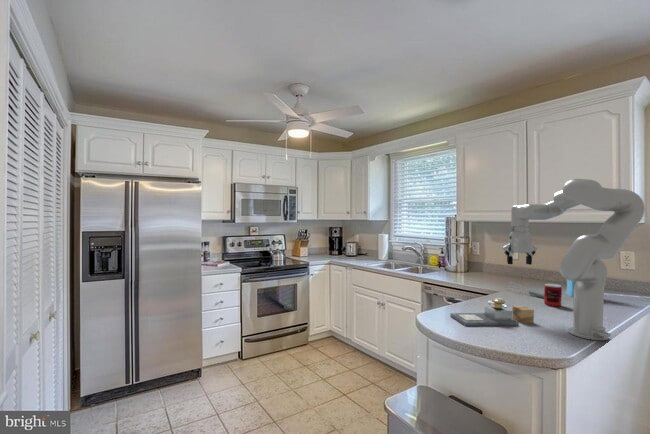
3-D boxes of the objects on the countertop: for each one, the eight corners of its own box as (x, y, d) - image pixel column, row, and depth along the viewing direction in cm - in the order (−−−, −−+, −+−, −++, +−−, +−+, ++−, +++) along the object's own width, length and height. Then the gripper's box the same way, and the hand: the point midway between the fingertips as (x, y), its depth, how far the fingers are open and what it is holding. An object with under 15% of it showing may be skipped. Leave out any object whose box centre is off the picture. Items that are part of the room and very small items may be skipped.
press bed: (518, 325, 144) (518, 313, 144) (465, 326, 142) (465, 313, 142) (498, 316, 158) (499, 304, 158) (450, 316, 156) (450, 304, 156)
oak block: (533, 322, 149) (533, 309, 149) (520, 323, 148) (521, 309, 148) (524, 318, 155) (524, 306, 155) (512, 318, 154) (512, 306, 154)
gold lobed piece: (507, 311, 148) (507, 301, 148) (496, 311, 148) (496, 301, 148) (500, 308, 153) (500, 298, 153) (489, 308, 153) (489, 298, 153)
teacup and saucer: (485, 304, 181) (485, 296, 181) (496, 303, 184) (496, 295, 184) (499, 308, 173) (499, 300, 173) (510, 307, 176) (510, 299, 176)
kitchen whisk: (555, 302, 187) (555, 291, 187) (502, 290, 216) (502, 281, 216) (561, 301, 189) (561, 291, 190) (508, 290, 219) (508, 280, 219)
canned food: (554, 303, 185) (554, 283, 184) (565, 307, 177) (565, 286, 176) (540, 303, 184) (541, 283, 184) (550, 307, 176) (551, 286, 176)
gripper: (507, 229, 161) (507, 265, 160) (541, 230, 162) (541, 265, 161) (498, 229, 168) (498, 263, 168) (531, 229, 169) (531, 263, 169)
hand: (519, 264), depth 165 cm, fingers open, 9 cm apart
